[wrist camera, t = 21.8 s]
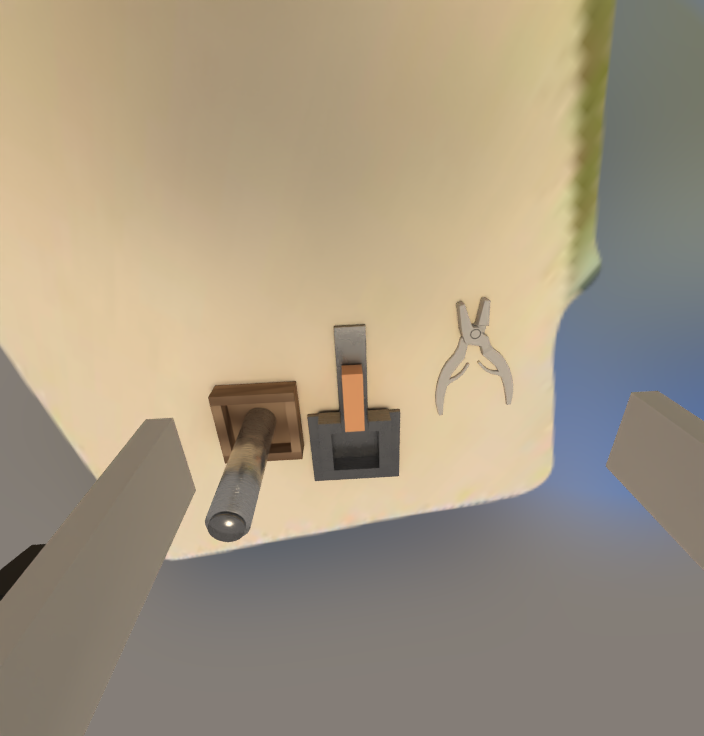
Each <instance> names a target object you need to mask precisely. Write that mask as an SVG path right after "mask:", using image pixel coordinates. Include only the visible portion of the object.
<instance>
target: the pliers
mask: <svg viewBox="0 0 704 736" xmlns="http://www.w3.org/2000/svg"><path fill="white" fill-rule="evenodd" d="M456 304H457V314H458V324H459V329H460V331H461V334H462V336H461V337H460V339H459V344H458V346H457V348H456V350H455V352H454V353H453V355H452V356H451V357H450V358H449V359H448V360H447V361H446V363H445V365H444V366H443V368H442V370H441V373H440V375H439V378H438V381H437V386H436V395H435V397H436V406H437V410H438V414H439V415H443V403H444V396H445V392H446V388H447V386H448V385H449V384H450V383H451V382H453V381H455V380H457V379H458V378H459V377H460V376H462V375H463V373H464V372H465V371H466V370H467V368H468V366H469V365H470V364H469V363H466V365H465V366H464V368H463V369H462V370H461V372H459V373H458V374H457V375H456V376H454V377H451V375H452V373H453V372H454V370H455V369H456V368H457V367H458V365H459V364H460V363H461V362H462V361H463V360H464V358H465V354H466V350H467V346H468V345H476V346H479V347H480V350H481V353H482V355H483V356H484V357H486V358H487V359H488V360H489V361H490V362H492V363H493V364H494V365H495V366H496V368H497V369H498V370H490V369H488V368H486V367H485V366H483V365H482V364H481V363H480V361H477V362H478V364H479V365H480V366H481V367H482V368H483V369H484V370H485V371H487V372H489V373H491V374H495V375H498V376H500V377H501V379H502V382H503V386H504V391H505V398H506V404H507V405H508V404H511V400H512V395H513V380H512V375H511V372H510V369H509V366H508V364H507V362H506V360H505V359H504V358H503V356H502V355H501V354H500V353H499V352H498V351H496V350H495V349H494V348H492V346H491V345H490V341H489V338H488V336H487V335H485V334H484V332H485V329H486V326H489V315H490V300H489V299H487V298H483V297H481V301H480V305H479V309H478V313H477V317H476V321H475V323H474V324H471V322H470V319H469V316H468V313H467V310H466V306H465V304H464V303H463V302H462V301H460V302H458V303H456ZM450 377H451V378H450Z"/></svg>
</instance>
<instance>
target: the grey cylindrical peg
mask: <svg viewBox="0 0 704 736" xmlns="http://www.w3.org/2000/svg"><path fill="white" fill-rule="evenodd" d="M275 426H276V417H275V415H274V414H273V413H272V412H271V411H270V410H268V409H266V408H261V407H258V408H253V409H251V410H249V411H248V412H247V414H246V416H245V418H244V421H243V424H242V426H241V429H240V431H239V434H238V436H237V439H236V442H235V444H234V447H233V449H232V452H231V454H230V457H229V460H228V462H227V465H226V467H225V470H224V473H223V475H222V478H221V480H220V483H219V485H218V488H217V491H216V493H215V496H214V498H213V501H212V504H211V506H210V509H209V511H208V514H207V516H206V519H205V525H206V527H207V529H208V532H209V534H210V535H211V536H212V537H214V538H215V539H217V540H220V541H224V542H232V541H236V540H238V539H240V538H241V537H242V536H244V535H246V534H247V533H248V532H249V530H250V527H251V523H252V519H253V515H254V511H255V507H256V503H257V499H258V495H259V491H260V487H261V483H262V479H263V475H264V471H265V467H266V463H267V459H268V455H269V451H270V447H271V443H272V439H273V435H274V431H275Z"/></svg>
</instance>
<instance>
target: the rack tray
mask: <svg viewBox="0 0 704 736" xmlns="http://www.w3.org/2000/svg"><path fill="white" fill-rule="evenodd" d="M208 399H209V403H210V407H211V411H212V414H213V418H214V422H215V426H216V430H217V434H218V438H219V442H220V446H221V450H222V453H223V457H224V461H225V463H227V462H228V460H229V457H230V454H231V452H232V449H233V447H234V444H235V442H236V439H237V436H238V434H239V431H240V429H241V426H242V424H243V421H244V418H245V416H246V414H247V412H248V411H249V410H251V409H253V408H258V407H261V408H266V409H268V410H270V411H271V412H272V413H273V414H274V415H275V417H276V426H275V431H274V435H273V439H272V443H271V447H270V451H269V455H268V459H267V461H277V460H294V459H302V457H303V449H304V441H303V433H302V425H301V418H300V410H299V402H298V394H297V386H296V381H292V382H274V383H255V384H237V385H219V386H215V387H214V389H213V390H212V392H211V394H210V395H209V397H208Z"/></svg>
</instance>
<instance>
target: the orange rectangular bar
mask: <svg viewBox="0 0 704 736" xmlns="http://www.w3.org/2000/svg"><path fill="white" fill-rule="evenodd" d="M342 387H343V403H344V419H345V432H355V431H365V425H364V395H363V372H362V364H361V365H342Z"/></svg>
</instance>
